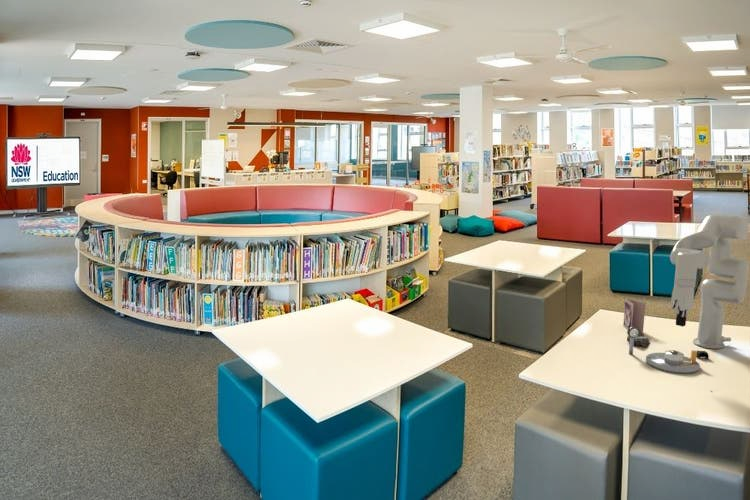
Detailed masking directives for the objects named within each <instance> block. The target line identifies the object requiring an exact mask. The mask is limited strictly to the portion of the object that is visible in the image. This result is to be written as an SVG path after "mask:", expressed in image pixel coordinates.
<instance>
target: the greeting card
mask: <svg viewBox="0 0 750 500" xmlns="http://www.w3.org/2000/svg"><path fill="white" fill-rule="evenodd" d="M645 314H646V302H643V301H642V302H641V301H638V300H634V299H630V298H626V297H625V301H624V312H623V323H622V327H623V328H625V329H626V330H627V331H628V329H629V328H630V327H636V328H638V329H640V331H641V332H642V333H644V326H645V325H644V323H645Z"/></svg>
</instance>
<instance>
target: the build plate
mask: <svg viewBox="0 0 750 500" xmlns="http://www.w3.org/2000/svg"><path fill="white" fill-rule="evenodd" d="M696 352H697V355H696V359H697V360H699V358H705V359H706V360H709V358H710V355H709V353H708V352H707V351H706V350H696Z"/></svg>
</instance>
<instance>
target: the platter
mask: <svg viewBox="0 0 750 500" xmlns="http://www.w3.org/2000/svg"><path fill="white" fill-rule="evenodd" d="M664 354H665V352H653V353H649V354H647V355H646V356H645V362H646V364H647V365H649V367H652V368H654V369H656V370H659V371H662V372H666V373H671V374H676V375H677V374H678V375H688V374H689V375H692V374H696V373H699V371H700V369H701V368H700V367H701V365H700V363H699V362H698V361H697V358H696V355H697V350H691V352H690V357H688V356H684V357H683V364H682V365H679V366H677V365H670V364H667V363H665V362H664Z"/></svg>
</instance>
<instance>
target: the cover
mask: <svg viewBox="0 0 750 500" xmlns="http://www.w3.org/2000/svg"><path fill="white" fill-rule="evenodd" d="M664 353H665V354H664V362H665V363H667V364H670V365H677V366H679V365H682V364H683V357H684V355H685V354H684V353H683V352H681V351H678V350H670V349H668V350H665V351H664Z"/></svg>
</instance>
